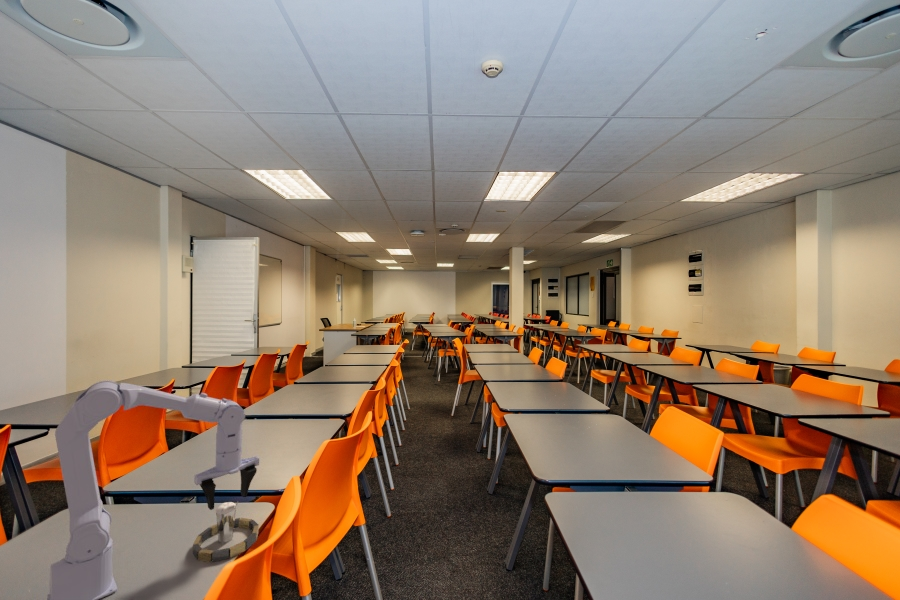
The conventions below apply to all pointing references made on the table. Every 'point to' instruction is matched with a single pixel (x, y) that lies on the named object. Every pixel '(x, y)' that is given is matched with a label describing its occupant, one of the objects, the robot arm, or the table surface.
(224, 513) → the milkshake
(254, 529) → the ring
